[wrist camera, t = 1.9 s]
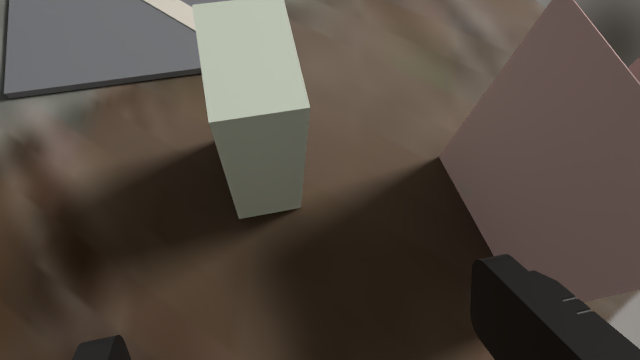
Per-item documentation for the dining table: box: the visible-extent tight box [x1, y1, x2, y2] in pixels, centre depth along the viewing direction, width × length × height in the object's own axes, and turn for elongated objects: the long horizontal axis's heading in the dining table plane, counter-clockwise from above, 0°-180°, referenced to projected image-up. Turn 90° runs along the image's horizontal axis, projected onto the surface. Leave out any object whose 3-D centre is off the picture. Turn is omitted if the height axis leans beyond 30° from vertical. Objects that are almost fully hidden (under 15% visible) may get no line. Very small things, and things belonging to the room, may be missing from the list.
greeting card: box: [439, 0, 640, 302], centre depth 22 cm, size 11×7×15 cm, turn 167°
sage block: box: [192, 0, 310, 219], centre depth 24 cm, size 4×6×12 cm, turn 12°
